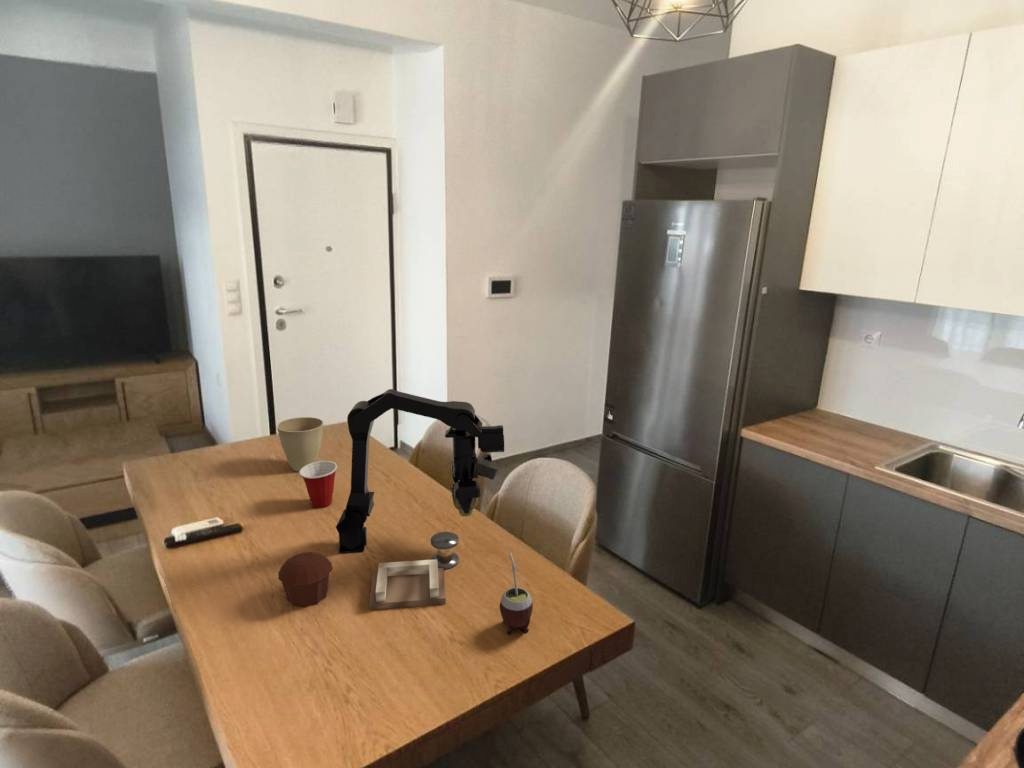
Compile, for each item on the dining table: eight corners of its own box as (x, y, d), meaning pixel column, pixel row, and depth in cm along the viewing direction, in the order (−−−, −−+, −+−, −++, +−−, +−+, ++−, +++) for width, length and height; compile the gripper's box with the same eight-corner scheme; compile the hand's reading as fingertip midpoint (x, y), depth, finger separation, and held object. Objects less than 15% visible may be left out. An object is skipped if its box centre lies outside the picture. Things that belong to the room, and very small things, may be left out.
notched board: (369, 609, 131) (368, 594, 130) (373, 577, 142) (372, 563, 141) (445, 603, 133) (445, 588, 132) (443, 573, 145) (443, 558, 143)
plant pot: (318, 477, 195) (314, 432, 191) (273, 475, 195) (269, 431, 191) (332, 459, 209) (329, 417, 205) (290, 458, 209) (287, 416, 205)
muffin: (336, 578, 141) (334, 542, 139) (331, 608, 131) (328, 569, 128) (285, 582, 139) (281, 546, 137) (275, 613, 129) (271, 573, 126)
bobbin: (431, 570, 146) (430, 547, 144) (430, 554, 152) (430, 532, 150) (459, 568, 147) (459, 545, 145) (457, 553, 153) (457, 531, 151)
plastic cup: (297, 501, 178) (294, 465, 175) (331, 492, 184) (329, 457, 181) (309, 516, 170) (306, 478, 167) (345, 506, 176) (342, 469, 173)
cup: (475, 522, 150) (475, 494, 147) (448, 519, 151) (447, 491, 149) (483, 508, 157) (482, 481, 154) (456, 506, 158) (455, 479, 156)
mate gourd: (521, 642, 122) (523, 579, 118) (489, 628, 126) (490, 567, 122) (538, 622, 128) (541, 562, 124) (508, 609, 132) (509, 550, 128)
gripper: (500, 465, 141) (500, 522, 146) (491, 437, 159) (491, 489, 163) (454, 467, 140) (456, 526, 144) (450, 439, 157) (451, 491, 162)
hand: (465, 507), depth 153 cm, fingers closed on cup, 6 cm apart
